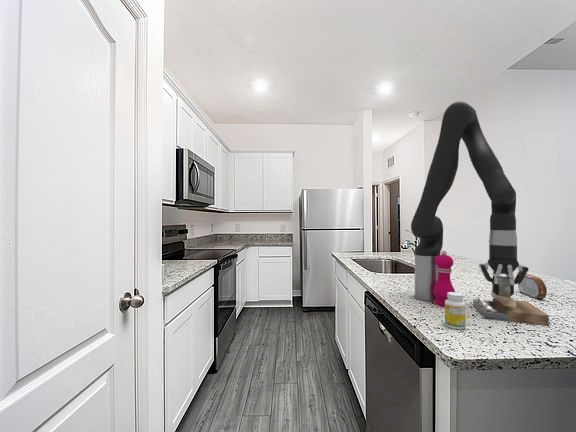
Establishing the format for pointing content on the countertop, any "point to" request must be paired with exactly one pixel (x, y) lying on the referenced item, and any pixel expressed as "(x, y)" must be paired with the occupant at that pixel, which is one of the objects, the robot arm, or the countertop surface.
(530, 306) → the walnut board
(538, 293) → the tin
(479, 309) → the tray
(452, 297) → the supplement bottle
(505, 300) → the scraper
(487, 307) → the disc
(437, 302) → the pepper mill
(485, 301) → the disc
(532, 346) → the countertop surface
